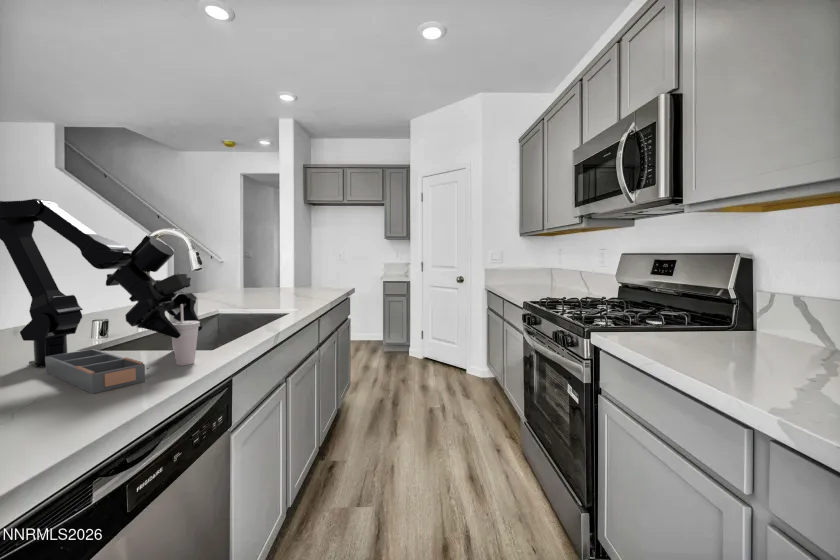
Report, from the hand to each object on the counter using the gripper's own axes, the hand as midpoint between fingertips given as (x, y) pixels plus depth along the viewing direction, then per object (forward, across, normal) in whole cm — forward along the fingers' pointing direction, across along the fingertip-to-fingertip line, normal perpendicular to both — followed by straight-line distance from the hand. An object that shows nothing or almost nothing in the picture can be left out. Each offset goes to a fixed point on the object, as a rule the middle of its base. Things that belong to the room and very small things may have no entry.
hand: (190, 333), depth 94 cm
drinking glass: (-1, +14, +12) cm, 18 cm away
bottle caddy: (-5, -11, +15) cm, 19 cm away
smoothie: (+4, 0, +6) cm, 8 cm away
